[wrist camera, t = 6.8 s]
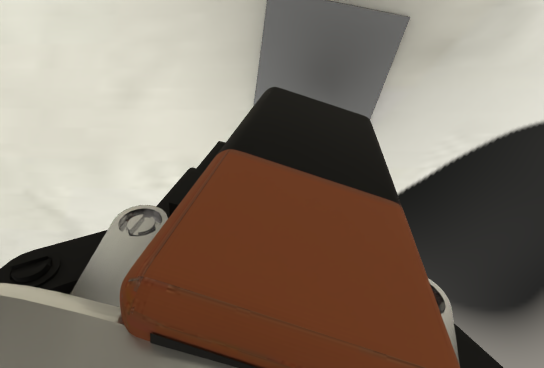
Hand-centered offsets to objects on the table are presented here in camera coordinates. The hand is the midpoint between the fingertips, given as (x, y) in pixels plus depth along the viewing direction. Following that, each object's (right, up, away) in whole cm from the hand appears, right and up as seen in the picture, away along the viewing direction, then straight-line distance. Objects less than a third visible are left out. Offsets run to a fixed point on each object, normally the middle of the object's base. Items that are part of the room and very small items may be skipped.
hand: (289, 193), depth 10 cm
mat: (+3, +9, +14) cm, 17 cm away
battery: (0, +1, +2) cm, 2 cm away
